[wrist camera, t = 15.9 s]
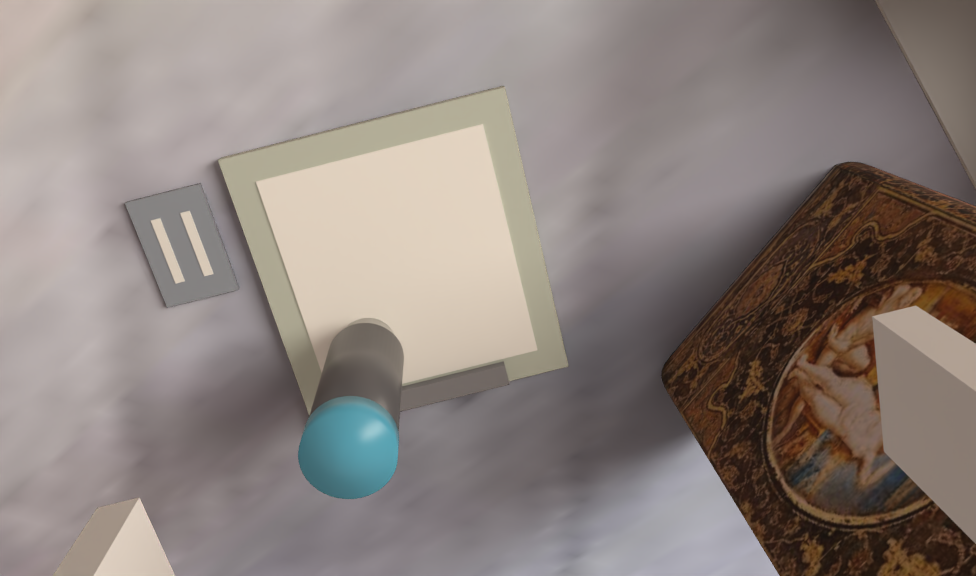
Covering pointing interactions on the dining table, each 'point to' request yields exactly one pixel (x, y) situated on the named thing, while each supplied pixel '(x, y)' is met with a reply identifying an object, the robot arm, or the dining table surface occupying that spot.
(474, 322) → the cream square framed board
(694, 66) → the dining table surface
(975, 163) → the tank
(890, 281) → the book
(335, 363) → the marker
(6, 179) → the dining table surface
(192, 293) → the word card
